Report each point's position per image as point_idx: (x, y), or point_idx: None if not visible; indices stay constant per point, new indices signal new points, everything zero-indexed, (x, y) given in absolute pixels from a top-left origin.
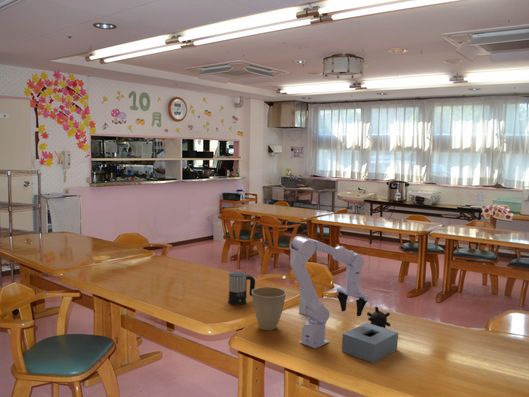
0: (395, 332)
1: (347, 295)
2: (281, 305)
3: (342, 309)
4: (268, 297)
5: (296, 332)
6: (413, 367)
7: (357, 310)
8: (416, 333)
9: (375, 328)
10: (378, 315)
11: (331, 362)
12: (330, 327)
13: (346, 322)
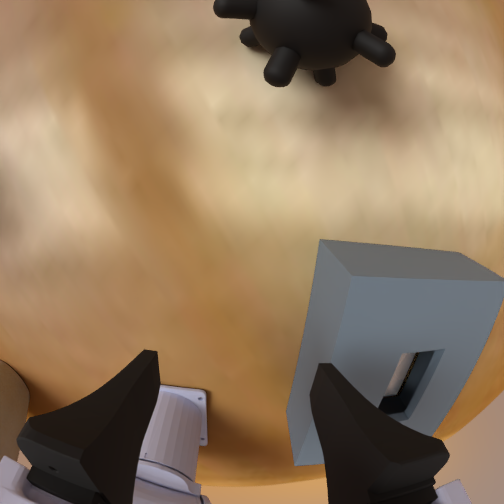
0: (500, 292)
1: (96, 452)
2: (2, 450)
3: (156, 401)
4: None
5: (66, 374)
6: (493, 335)
7: (325, 439)
8: (449, 17)
9: (420, 325)
10: (341, 34)
11: None
12: (89, 232)
13: (107, 92)
